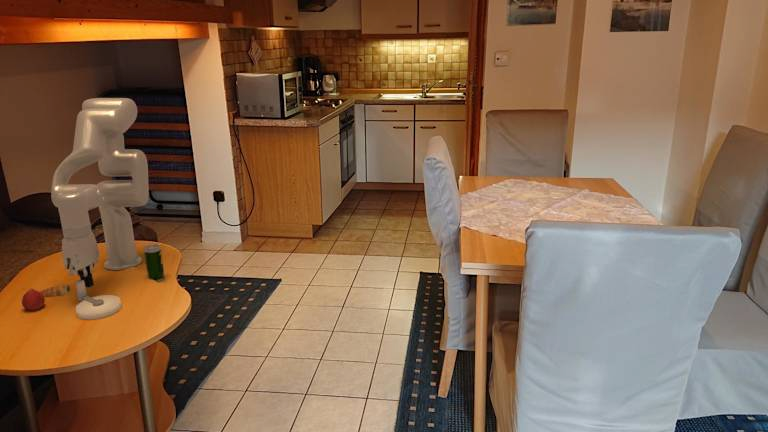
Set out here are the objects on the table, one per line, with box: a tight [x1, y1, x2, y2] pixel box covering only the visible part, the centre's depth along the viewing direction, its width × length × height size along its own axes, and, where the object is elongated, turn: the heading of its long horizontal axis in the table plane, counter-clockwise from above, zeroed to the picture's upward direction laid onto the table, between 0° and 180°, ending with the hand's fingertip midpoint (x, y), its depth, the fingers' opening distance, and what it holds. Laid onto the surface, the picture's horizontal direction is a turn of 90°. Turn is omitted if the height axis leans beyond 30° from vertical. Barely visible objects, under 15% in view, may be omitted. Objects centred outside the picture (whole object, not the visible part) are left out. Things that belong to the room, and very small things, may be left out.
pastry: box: [39, 283, 71, 298], centre depth 175 cm, size 9×7×4 cm
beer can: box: [143, 243, 165, 283], centre depth 186 cm, size 5×5×12 cm
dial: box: [75, 279, 122, 321], centre depth 164 cm, size 16×12×7 cm
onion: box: [21, 287, 46, 312], centre depth 164 cm, size 6×6×8 cm
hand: (87, 285), depth 171 cm, fingers closed
